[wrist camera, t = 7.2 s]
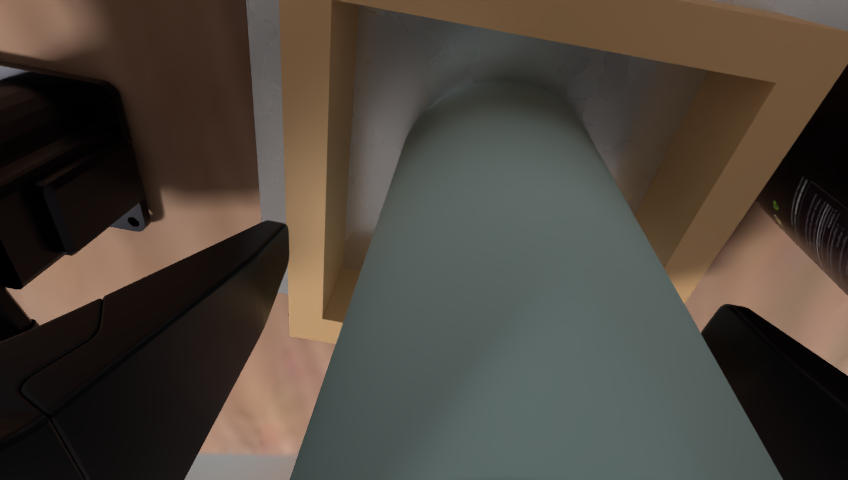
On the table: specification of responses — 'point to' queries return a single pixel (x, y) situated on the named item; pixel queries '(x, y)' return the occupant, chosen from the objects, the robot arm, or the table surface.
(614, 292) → the tin can
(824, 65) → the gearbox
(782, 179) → the supplement bottle
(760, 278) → the table surface
